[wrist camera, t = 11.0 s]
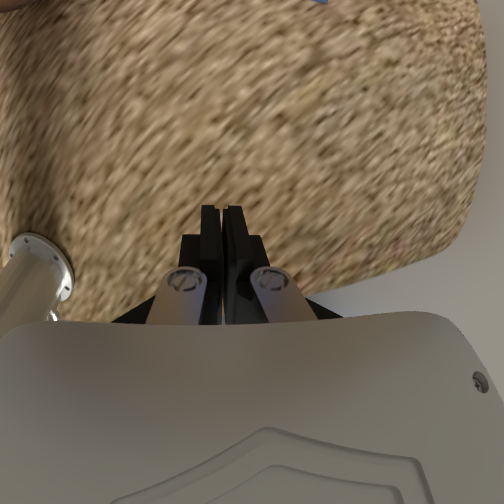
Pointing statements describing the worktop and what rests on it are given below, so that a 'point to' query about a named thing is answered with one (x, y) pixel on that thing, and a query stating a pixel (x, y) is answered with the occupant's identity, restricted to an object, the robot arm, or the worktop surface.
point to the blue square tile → (322, 0)
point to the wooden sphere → (13, 5)
